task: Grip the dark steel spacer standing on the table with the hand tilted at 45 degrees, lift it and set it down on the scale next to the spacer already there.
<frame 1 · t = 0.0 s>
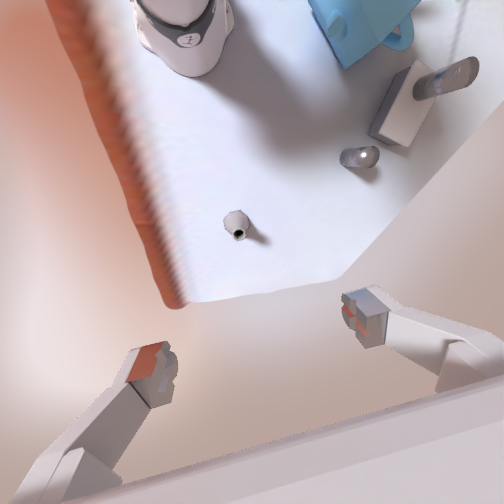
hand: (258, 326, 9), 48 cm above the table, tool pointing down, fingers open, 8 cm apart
spacer 1: (421, 88, 44), point 6 cm above the table, touching scale
teakettle: (342, 12, 41), on the table
spacer 2: (347, 157, 53), on the table
flask: (236, 222, 57), on the table
scale: (393, 112, 50), on the table
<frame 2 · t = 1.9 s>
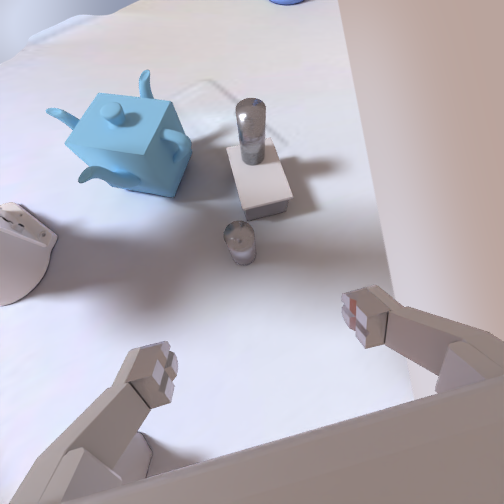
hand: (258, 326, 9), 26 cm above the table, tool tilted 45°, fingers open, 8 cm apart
spacer 1: (253, 156, 38), point 6 cm above the table, touching scale
teakettle: (153, 174, 45), on the table
spacer 2: (244, 254, 37), on the table
flask: (127, 459, 28), on the table
scale: (258, 189, 42), on the table
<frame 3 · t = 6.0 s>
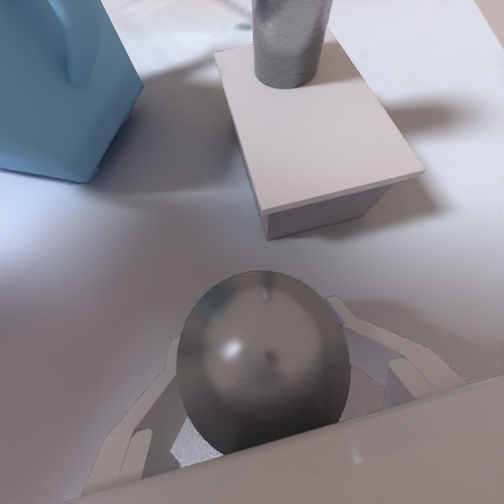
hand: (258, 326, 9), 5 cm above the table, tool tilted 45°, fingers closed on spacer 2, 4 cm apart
spacer 1: (285, 68, 14), point 6 cm above the table, touching scale
teakettle: (63, 138, 21), on the table
spacer 2: (262, 334, 14), on the table, touching gripper
scale: (290, 165, 18), on the table
when the fingers open (12 cm above the table, at t = 10.5 s): spacer 2 stays where it is, resting on scale.
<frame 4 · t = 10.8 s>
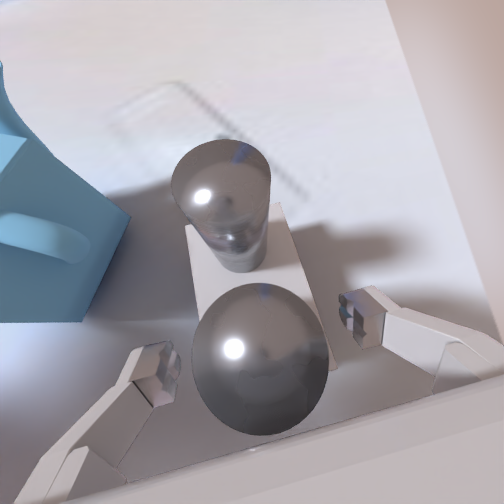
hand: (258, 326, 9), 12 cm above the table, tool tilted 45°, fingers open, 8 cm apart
spacer 1: (241, 248, 17), point 6 cm above the table, touching scale
teakettle: (62, 256, 24), on the table
spacer 2: (261, 333, 15), point 6 cm above the table, touching scale
scale: (254, 296, 21), on the table
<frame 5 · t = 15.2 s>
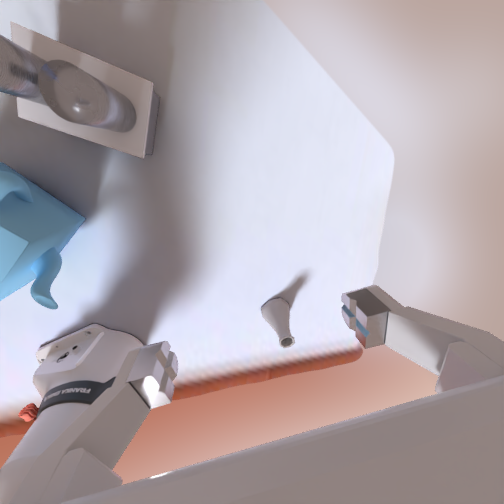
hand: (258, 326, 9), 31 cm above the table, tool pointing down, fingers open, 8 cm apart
spacer 1: (51, 86, 23), point 6 cm above the table, touching scale
teakettle: (33, 225, 35), on the table
spacer 2: (117, 112, 25), point 6 cm above the table, touching scale
flask: (275, 308, 50), on the table
scale: (109, 109, 29), on the table
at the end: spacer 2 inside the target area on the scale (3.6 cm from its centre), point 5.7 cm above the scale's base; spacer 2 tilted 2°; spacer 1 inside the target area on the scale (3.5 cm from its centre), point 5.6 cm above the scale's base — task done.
